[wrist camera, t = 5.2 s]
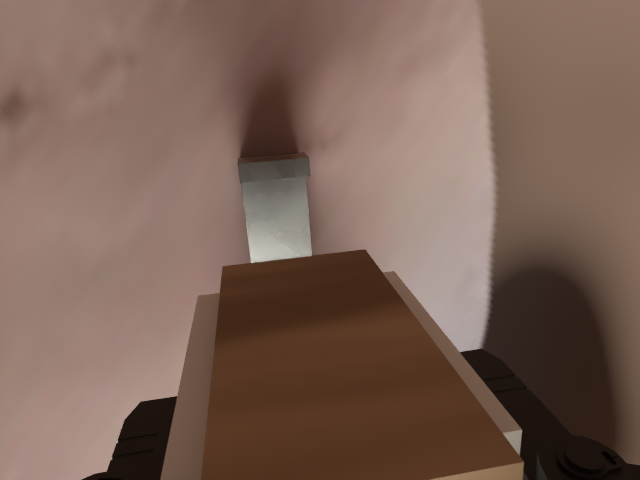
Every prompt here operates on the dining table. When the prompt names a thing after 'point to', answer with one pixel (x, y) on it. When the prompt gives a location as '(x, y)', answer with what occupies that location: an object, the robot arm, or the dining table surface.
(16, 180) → the dining table surface
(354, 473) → the walnut finger
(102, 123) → the dining table surface
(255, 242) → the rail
